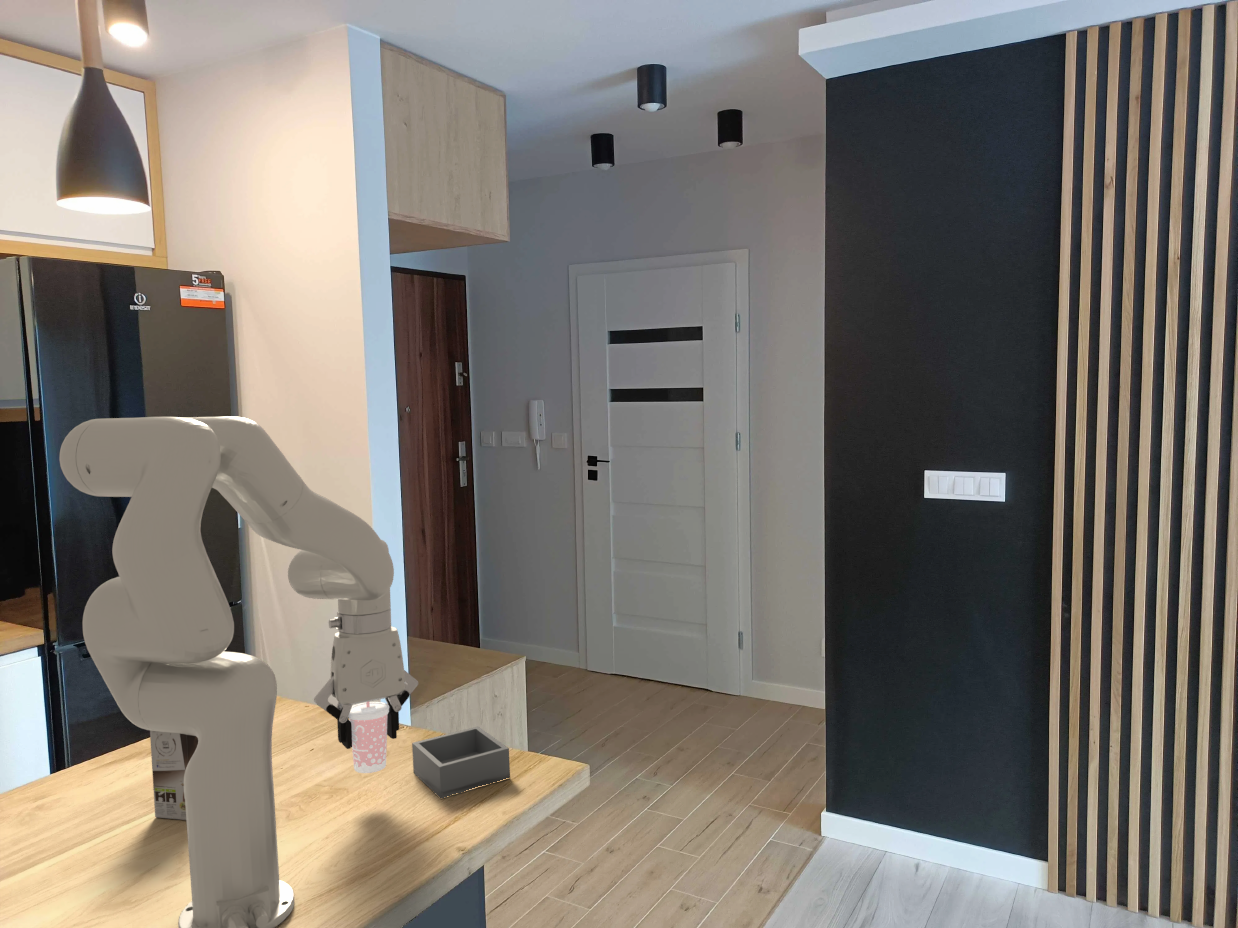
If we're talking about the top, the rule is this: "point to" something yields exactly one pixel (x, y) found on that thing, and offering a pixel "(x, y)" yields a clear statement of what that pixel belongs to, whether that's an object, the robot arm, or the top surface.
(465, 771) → the crate
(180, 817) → the coffee box
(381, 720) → the beverage cup
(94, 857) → the top surface
